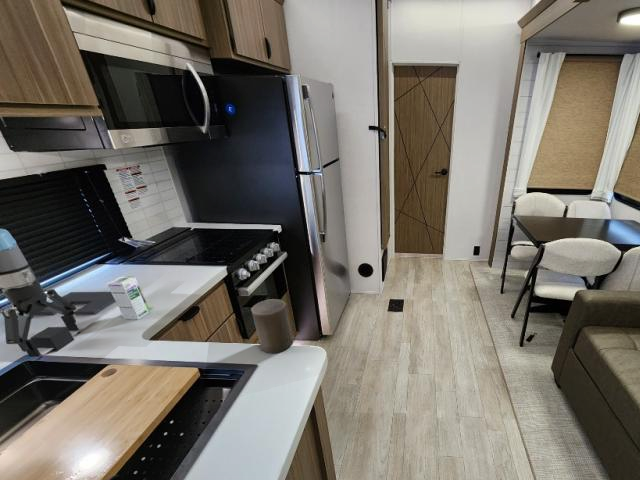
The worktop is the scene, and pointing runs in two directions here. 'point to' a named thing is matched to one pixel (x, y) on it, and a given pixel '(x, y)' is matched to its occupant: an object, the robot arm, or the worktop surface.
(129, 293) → the syrup box
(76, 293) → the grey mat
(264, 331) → the pillar candle
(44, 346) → the black pad
